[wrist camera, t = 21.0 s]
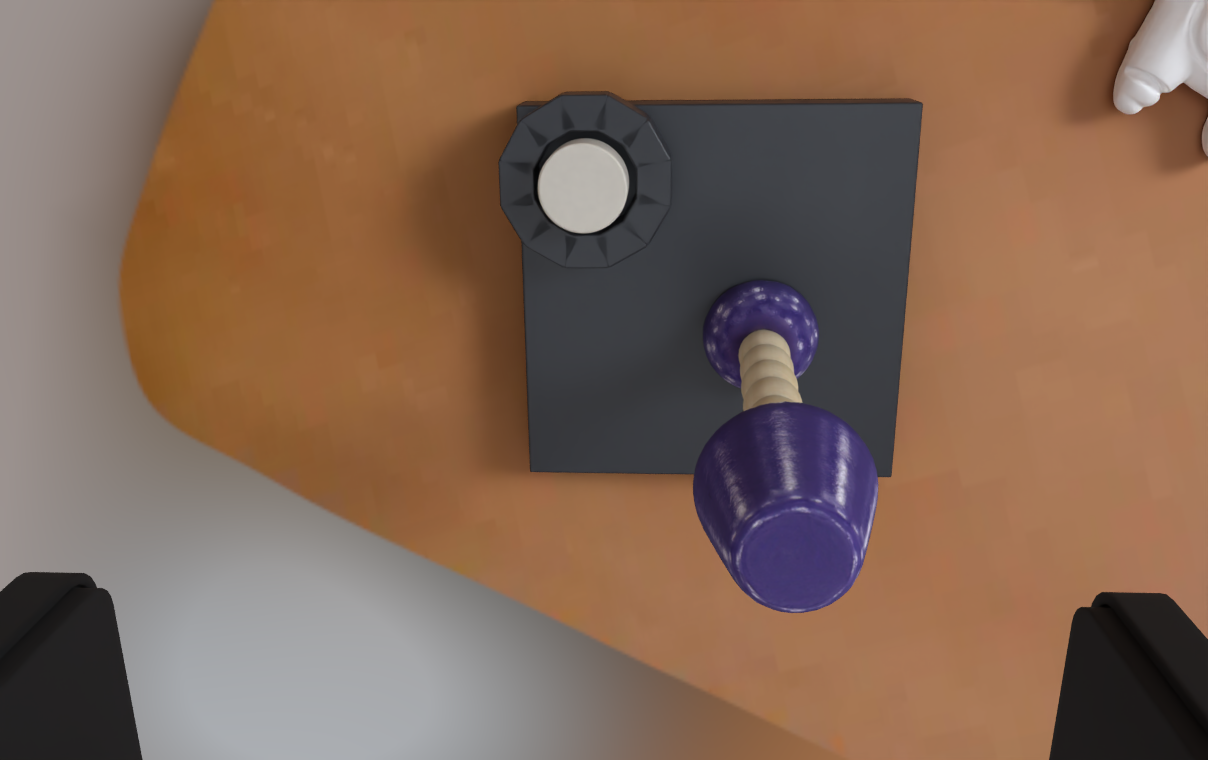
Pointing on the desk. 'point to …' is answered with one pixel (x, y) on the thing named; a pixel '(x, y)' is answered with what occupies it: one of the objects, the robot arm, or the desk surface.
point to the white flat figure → (1165, 57)
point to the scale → (709, 267)
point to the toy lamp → (781, 459)
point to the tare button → (583, 185)
